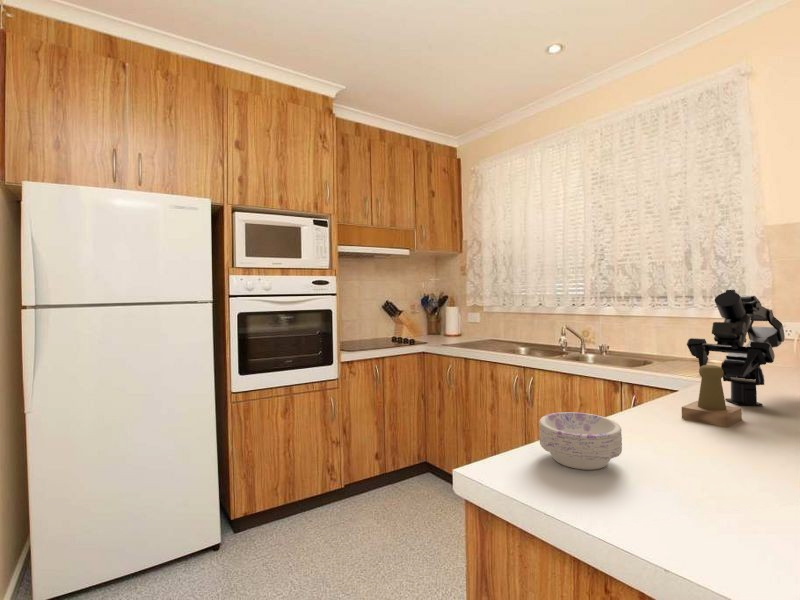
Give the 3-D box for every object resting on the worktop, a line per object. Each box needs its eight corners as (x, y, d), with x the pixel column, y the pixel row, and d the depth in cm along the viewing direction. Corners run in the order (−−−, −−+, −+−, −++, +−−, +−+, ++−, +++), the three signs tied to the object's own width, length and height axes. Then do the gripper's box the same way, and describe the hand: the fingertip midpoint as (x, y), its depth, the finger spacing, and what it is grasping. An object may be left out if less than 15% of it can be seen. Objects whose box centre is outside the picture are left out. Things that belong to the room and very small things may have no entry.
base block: (681, 418, 110) (681, 406, 110) (697, 411, 116) (696, 400, 116) (727, 427, 102) (727, 415, 102) (741, 419, 108) (741, 408, 108)
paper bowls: (565, 480, 75) (564, 436, 75) (526, 450, 90) (526, 414, 90) (641, 473, 78) (640, 430, 78) (591, 445, 93) (590, 409, 93)
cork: (716, 404, 112) (715, 363, 112) (732, 410, 106) (731, 367, 106) (692, 404, 112) (691, 363, 112) (707, 410, 106) (706, 367, 106)
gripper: (688, 311, 124) (673, 352, 118) (770, 311, 109) (757, 359, 102) (699, 335, 128) (685, 375, 122) (779, 339, 113) (768, 386, 107)
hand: (721, 373), depth 113 cm, fingers open, 9 cm apart
